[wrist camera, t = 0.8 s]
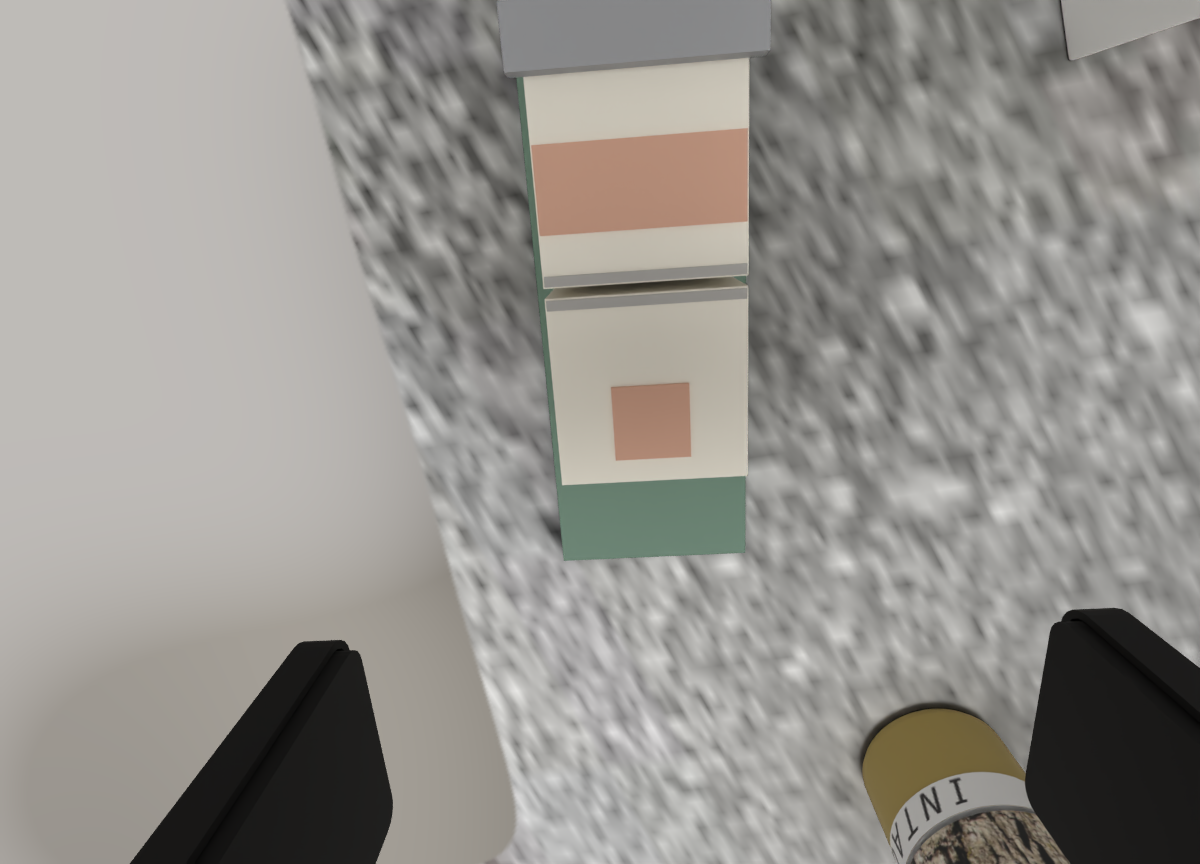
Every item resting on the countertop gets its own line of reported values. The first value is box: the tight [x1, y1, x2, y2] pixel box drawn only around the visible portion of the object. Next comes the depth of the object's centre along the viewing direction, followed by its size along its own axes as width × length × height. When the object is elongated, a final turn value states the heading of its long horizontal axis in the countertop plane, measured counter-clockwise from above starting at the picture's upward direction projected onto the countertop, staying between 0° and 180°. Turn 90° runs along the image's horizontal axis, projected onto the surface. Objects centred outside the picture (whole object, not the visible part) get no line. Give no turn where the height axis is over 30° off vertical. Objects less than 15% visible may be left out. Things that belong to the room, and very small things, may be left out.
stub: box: [544, 277, 748, 485], centre depth 23 cm, size 6×6×6 cm
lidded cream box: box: [497, 0, 771, 289], centre depth 20 cm, size 7×7×7 cm
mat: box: [516, 77, 746, 561], centre depth 25 cm, size 23×8×1 cm, turn 4°
